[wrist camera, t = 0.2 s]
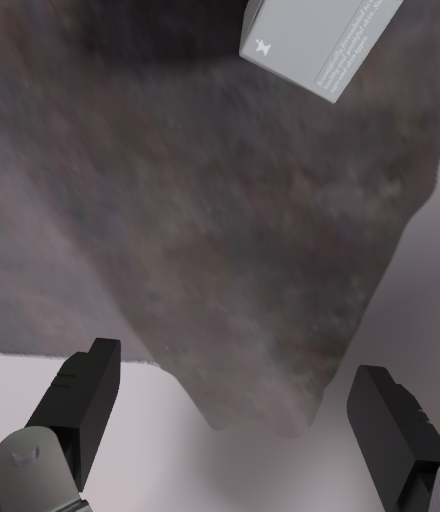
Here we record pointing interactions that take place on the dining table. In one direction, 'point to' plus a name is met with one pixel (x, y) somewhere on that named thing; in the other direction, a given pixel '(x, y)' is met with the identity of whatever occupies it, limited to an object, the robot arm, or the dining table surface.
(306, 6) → the skincare box
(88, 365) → the robot arm
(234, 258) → the dining table surface
